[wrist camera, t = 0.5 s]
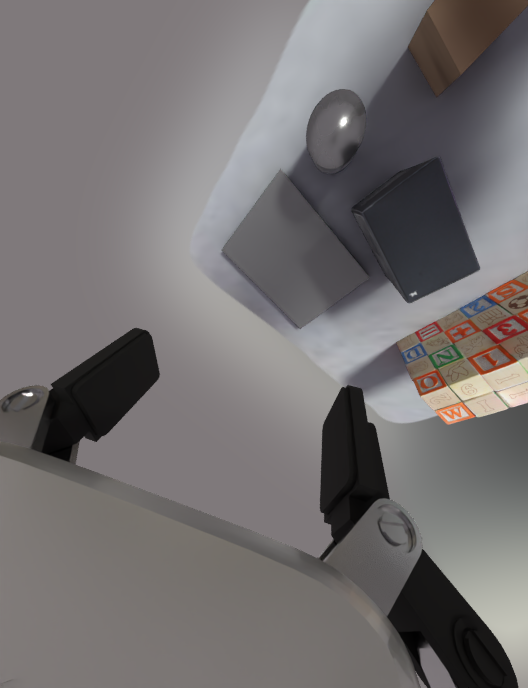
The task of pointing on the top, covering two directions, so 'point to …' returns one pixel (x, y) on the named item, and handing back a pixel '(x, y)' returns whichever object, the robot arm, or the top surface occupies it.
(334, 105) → the metallic grey egg
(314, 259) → the slate board
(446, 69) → the walnut block
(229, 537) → the robot arm
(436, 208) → the small box
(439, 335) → the stack of blocks
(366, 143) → the top surface
